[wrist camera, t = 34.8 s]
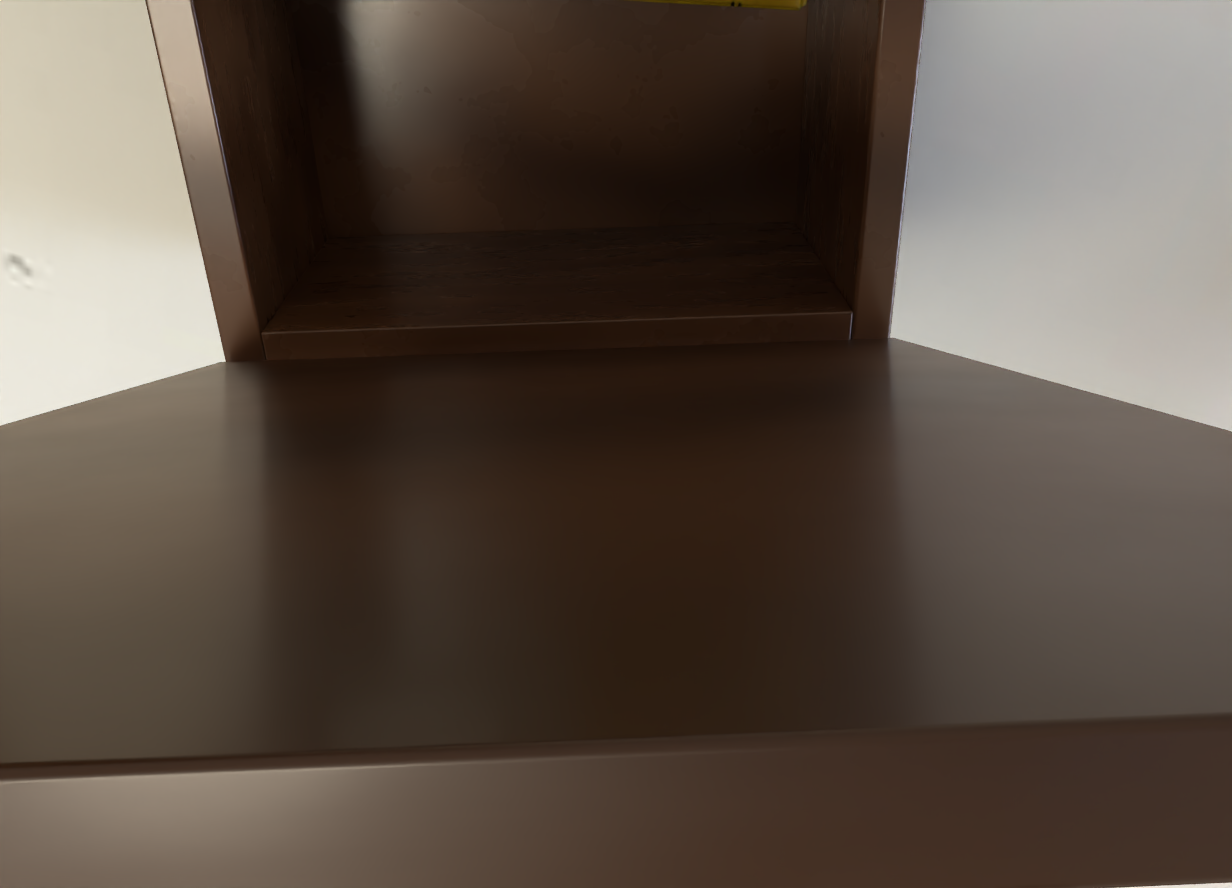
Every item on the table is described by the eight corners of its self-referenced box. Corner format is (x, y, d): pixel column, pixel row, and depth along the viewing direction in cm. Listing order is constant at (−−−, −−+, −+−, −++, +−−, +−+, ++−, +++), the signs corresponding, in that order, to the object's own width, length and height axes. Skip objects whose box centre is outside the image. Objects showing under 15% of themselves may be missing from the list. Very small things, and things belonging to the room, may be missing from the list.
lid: (-1405, 829, 4) (-1333, 1002, 4) (2146, 679, 4) (2104, 851, 5) (218, 361, 22) (222, 398, 23) (895, 337, 23) (895, 373, 23)
